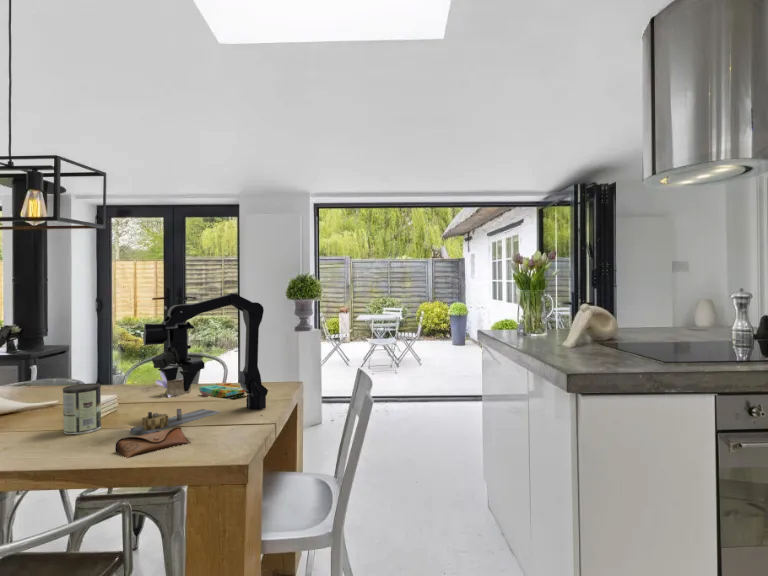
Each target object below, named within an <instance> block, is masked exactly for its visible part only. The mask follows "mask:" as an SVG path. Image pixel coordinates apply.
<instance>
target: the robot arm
mask: <svg viewBox="0 0 768 576" xmlns="http://www.w3.org/2000/svg"><path fill="white" fill-rule="evenodd" d="M228 306H233V307H234V308H236V310H239V311H240V312H242V317H243V318H242V319H243V322H244V325H245V349H244V353H245V354H244V358H245V359H244V367H243V370H239V371H238V375H239V378H238V383H239V386H241V387H242V388H243V389H244V390H245V391H246V392H245V394H246V401H245V402H246V408H247V409H248V410H250V411H252V410H253V411H257V410H259V411H260V410H263V409H266V408H267V399H266V398H267V395H268V392H269V390H268V388H266V386H264V385H263V383H262V377H261V373H260V370H259V366H258V363H259V362H258V361H259V338H260V337H259V332H260V331H259V330H260V329H259V328H260V325H261V323H262V321H263V316H264V311H265V310H264V306H263V304H261V303H260V302H253V301H250V299H247V298H245V297H243V296H240V295H238V293H235V292H230V293H228V294H227V293H226V294H225V295H221V296H217V297H213V298H210V299H206V300H202V301H199V302H196V303H195V302H194V303H184V304H183V303H182V304H176V305H175V304H174V305H172V306H170V307H169V309H168V310H167V315H166V317H165V318H164V319H163V321H162V322H161V323H154V324H153V323H144V325H143V326H144V328H143V333H142V342H143V345H144V346H152V345H164V344H165V342H166V341H168V345H167V346H165V349H164V350H165V351H164V352H162V353H159V354H157V355H156V356H154V357H152V358H151V362H152V364H153V369H157V370H158V371H159V372H162V373H164V375H165V377H166V379H167V382H168V381H172V380H176V379H177V377H178V371H179V373H180V375H182V378H183V381H184V390H185V391H188V390H189V388H190V386H191V387H192V384H193V381H194V380H195V377H196V376H197V374H198V372H200V371H201V370H204V369H205V367H206V365H205V364H206V363H205V362H204V360H203V359H201V360H200V359H192V358H191V357H189V349H191V347H192V346H191V345H189V340H188V339H189V335H188V334H189V333H188V331H189V330H191V329H195V326H194V325H193V324H191V323H190V321H189V320H190V319H193V318H194V317H196V316H199V315H201V314H203V313H207V312H210V311H214V310H217V309H221V308H224V307H228ZM184 322H185V323H184ZM173 326H174V327H173ZM179 368H181V369H182V370H179Z"/></svg>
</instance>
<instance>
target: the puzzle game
mask: <svg viewBox="0 0 768 576" xmlns="http://www.w3.org/2000/svg"><path fill="white" fill-rule="evenodd" d="M198 391H199V392H200V394H202V395H203V396H204V395H206V396H205V397H208V396H210V397H209V398H217V399H225V400H228V398H230V399H233V398H232V397H235V398H238V397H237V396H240V397H242V395H243V396H244V395H245V394H246V391H245V390H244V389H243V388H242V387H241V385H240V384H239V385H238V384H235V383H232V382H218V383H213V384H208V385H204V386H199V388H198Z"/></svg>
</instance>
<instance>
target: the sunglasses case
mask: <svg viewBox="0 0 768 576" xmlns="http://www.w3.org/2000/svg"><path fill="white" fill-rule="evenodd" d="M159 431H160V432H155V433H150V434H145V435H135V436H127V437H122V438H120V439H118V440H117V441H116V443H115V447H114V448H115V453H116V452H117V453H116V454H118V453H119V454H118V455H120V456H121V455H122V456H121V457H123V456H124V457H123V458H125V457H126V458H125V459H129V458H133V457H134V458H135V457H137V455H138V456H141V455H144V454H149V453H153V452H156V451H157V450H158V451H162V450H166V449H170V448H169V447H171V448H174V447H173V446H175V447H178V446H177V445H180V446H183V445H182V444H184V445H189V444H191V442H190V441H188V438H187V437H186V435H185V434H184V432H183V430H182V427H180V426H179V427H177V426H175V427H173V428H171V429H167V430H166V429H164V430H159ZM188 443H189V444H188ZM165 448H166V449H165ZM161 449H162V450H161ZM158 451H157V452H158Z"/></svg>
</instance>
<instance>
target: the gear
mask: <svg viewBox="0 0 768 576" xmlns="http://www.w3.org/2000/svg"><path fill="white" fill-rule="evenodd" d="M166 390H167V393H166V395H167V396H168V395H172V397H173V396H183V395H186V394H190V393H191V392H192V385H191V386H190V388H189V390H188V391H185V390H184V381H183V379H181V378H179V380H178V379H177V378H176V380H172V381H168V382H167V388H166Z"/></svg>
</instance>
